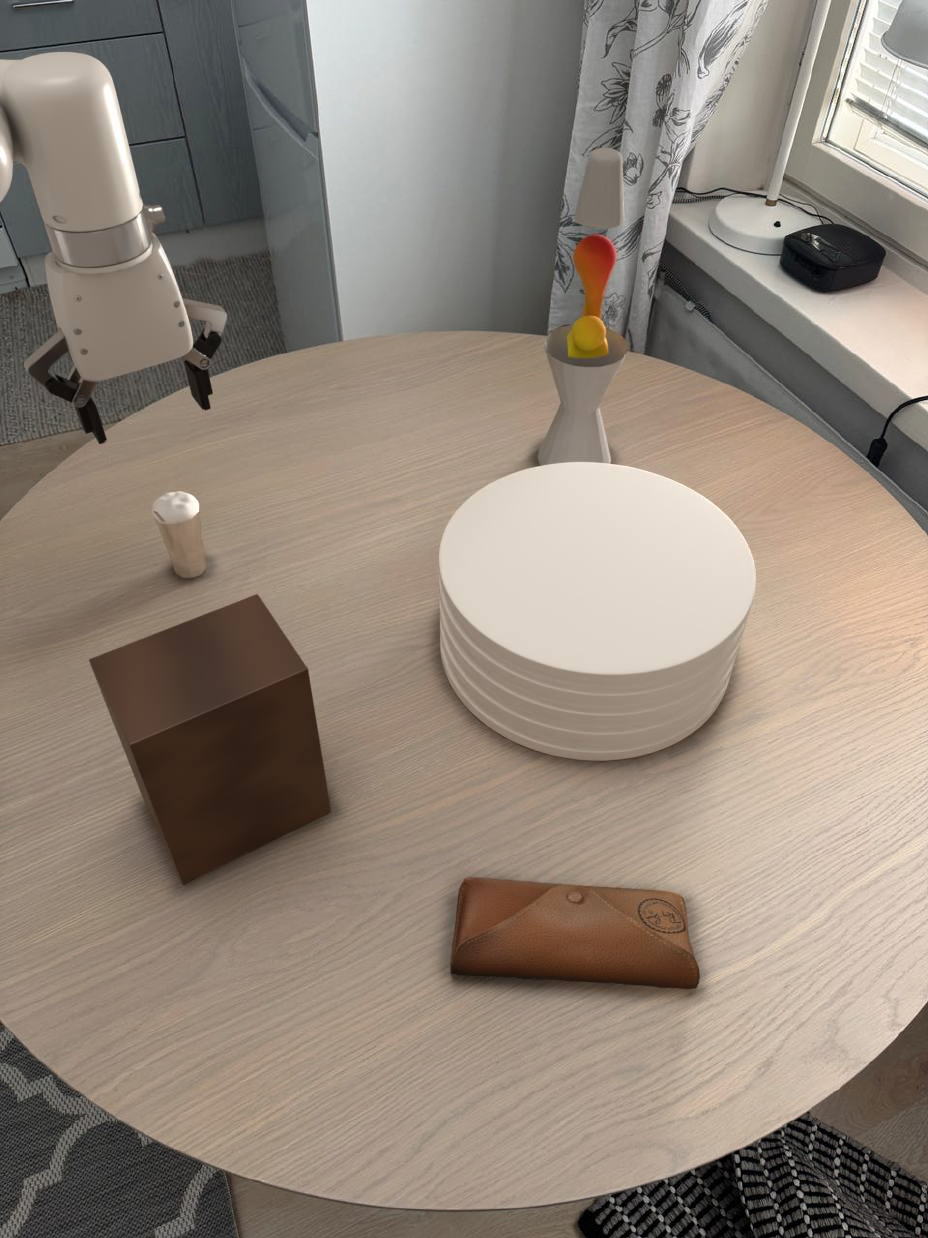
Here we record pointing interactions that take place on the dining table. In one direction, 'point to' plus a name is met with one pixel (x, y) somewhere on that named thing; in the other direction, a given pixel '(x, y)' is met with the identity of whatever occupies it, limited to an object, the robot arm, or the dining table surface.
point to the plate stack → (592, 608)
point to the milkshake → (181, 532)
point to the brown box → (218, 733)
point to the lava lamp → (588, 325)
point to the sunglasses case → (572, 934)
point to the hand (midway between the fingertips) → (151, 418)
